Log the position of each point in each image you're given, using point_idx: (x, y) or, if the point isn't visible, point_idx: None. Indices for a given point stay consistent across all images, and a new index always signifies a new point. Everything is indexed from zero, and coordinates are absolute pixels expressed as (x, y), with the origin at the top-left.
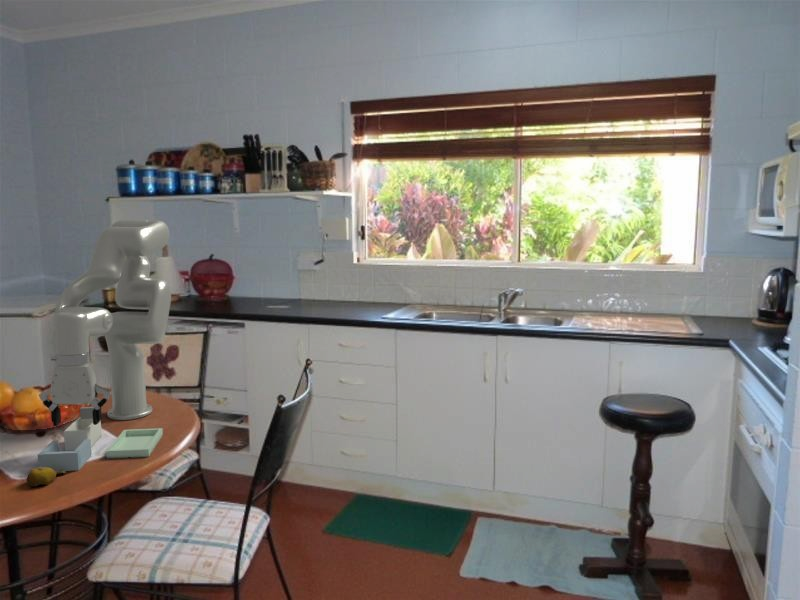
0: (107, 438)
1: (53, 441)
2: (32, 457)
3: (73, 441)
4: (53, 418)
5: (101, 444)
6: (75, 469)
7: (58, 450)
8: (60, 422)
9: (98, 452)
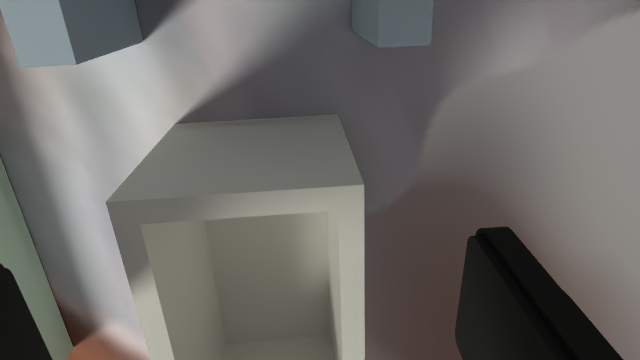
0: None
1: (414, 17)
2: (549, 43)
3: (272, 145)
4: (556, 292)
5: None
6: None
7: (360, 32)
8: (457, 325)
9: (91, 109)
